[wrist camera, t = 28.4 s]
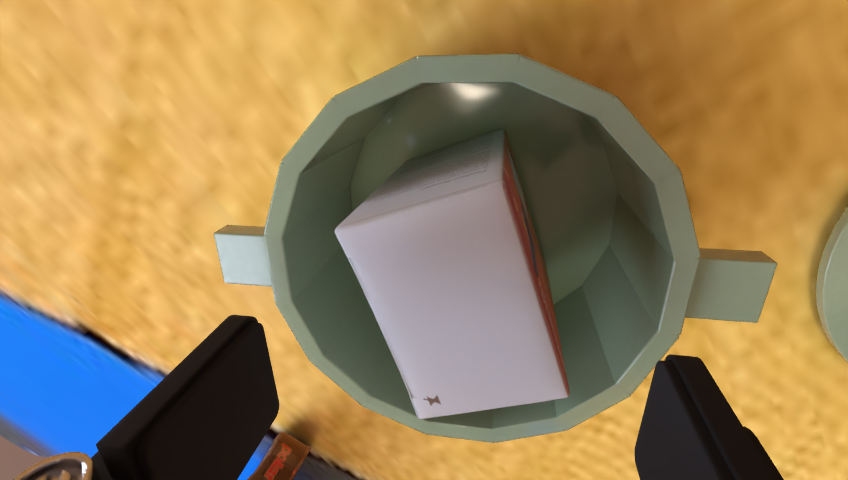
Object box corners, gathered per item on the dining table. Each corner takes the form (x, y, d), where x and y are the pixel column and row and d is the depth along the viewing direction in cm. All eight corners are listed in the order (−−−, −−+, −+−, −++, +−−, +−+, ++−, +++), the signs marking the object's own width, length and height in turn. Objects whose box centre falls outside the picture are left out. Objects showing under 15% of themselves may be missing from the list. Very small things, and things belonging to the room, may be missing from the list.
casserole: (278, 60, 22) (159, 61, 15) (721, 51, 19) (870, 46, 11) (313, 315, 28) (242, 411, 21) (654, 345, 25) (720, 472, 17)
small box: (546, 265, 24) (575, 405, 14) (451, 287, 25) (417, 426, 16) (506, 123, 21) (507, 177, 12) (403, 158, 23) (328, 230, 13)
